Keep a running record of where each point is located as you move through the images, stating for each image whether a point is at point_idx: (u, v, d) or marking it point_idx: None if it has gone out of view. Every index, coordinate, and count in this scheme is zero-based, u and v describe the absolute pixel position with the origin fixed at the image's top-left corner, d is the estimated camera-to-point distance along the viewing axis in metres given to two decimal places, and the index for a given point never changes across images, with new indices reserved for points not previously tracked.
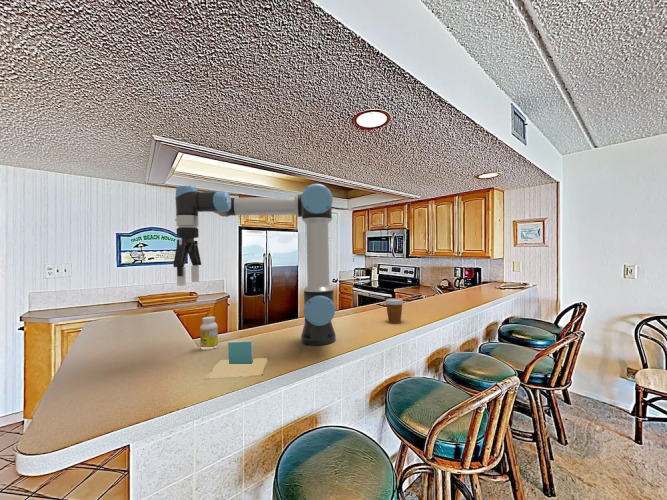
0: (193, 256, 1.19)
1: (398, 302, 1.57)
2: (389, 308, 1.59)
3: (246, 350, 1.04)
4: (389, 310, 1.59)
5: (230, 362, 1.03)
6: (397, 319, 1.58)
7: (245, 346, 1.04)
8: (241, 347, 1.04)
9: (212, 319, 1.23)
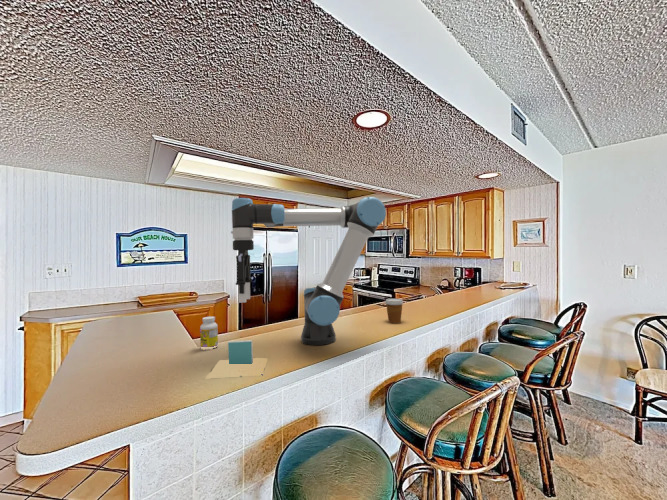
0: (245, 270, 1.16)
1: (398, 302, 1.57)
2: (389, 308, 1.59)
3: (246, 350, 1.04)
4: (389, 310, 1.59)
5: (230, 362, 1.03)
6: (397, 319, 1.58)
7: (245, 346, 1.04)
8: (241, 347, 1.04)
9: (212, 319, 1.23)
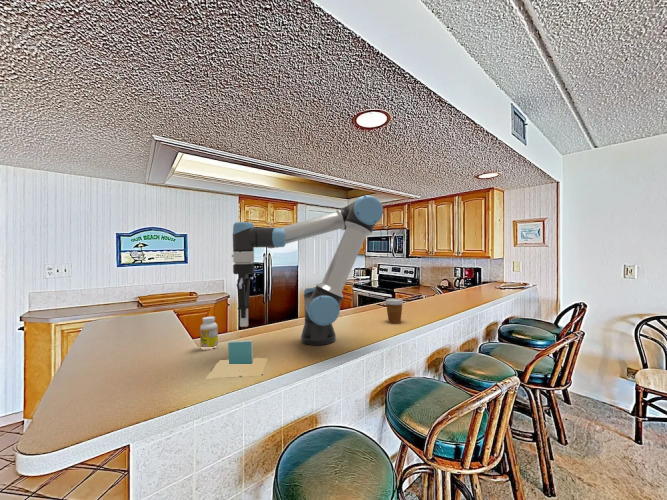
0: None
1: (398, 302, 1.57)
2: (389, 308, 1.59)
3: (246, 350, 1.04)
4: (389, 310, 1.59)
5: (230, 362, 1.03)
6: (397, 319, 1.58)
7: (245, 346, 1.04)
8: (241, 347, 1.04)
9: (212, 319, 1.23)
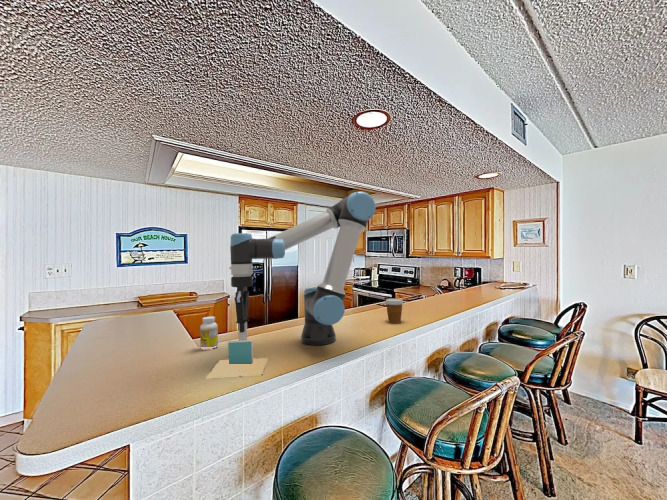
0: None
1: (398, 302, 1.57)
2: (389, 308, 1.59)
3: (246, 350, 1.04)
4: (389, 310, 1.59)
5: (230, 362, 1.03)
6: (397, 319, 1.58)
7: (245, 346, 1.04)
8: (241, 347, 1.04)
9: (212, 319, 1.23)
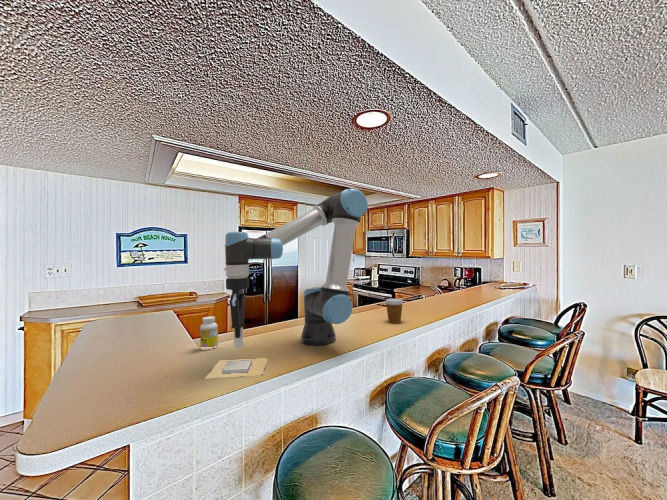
0: None
1: (398, 302, 1.57)
2: (389, 308, 1.59)
3: None
4: (389, 310, 1.59)
5: None
6: (397, 319, 1.58)
7: None
8: None
9: (212, 319, 1.23)
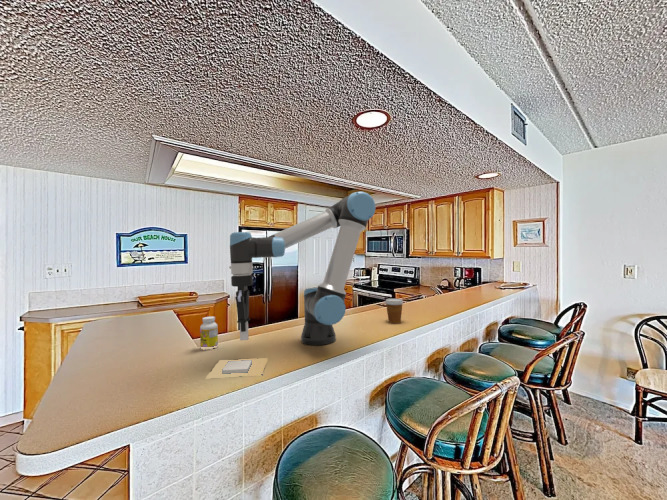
0: None
1: (398, 302, 1.57)
2: (389, 308, 1.59)
3: None
4: (389, 310, 1.59)
5: None
6: (397, 319, 1.58)
7: None
8: None
9: (212, 319, 1.23)
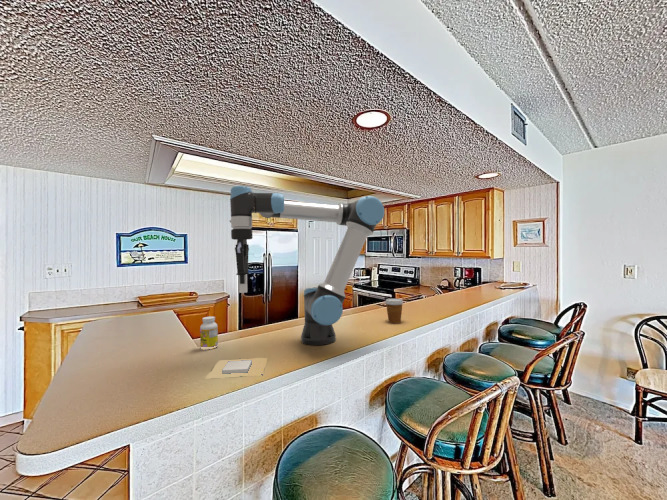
0: None
1: (398, 302, 1.57)
2: (389, 308, 1.59)
3: None
4: (389, 310, 1.59)
5: None
6: (397, 319, 1.58)
7: None
8: None
9: (212, 319, 1.23)
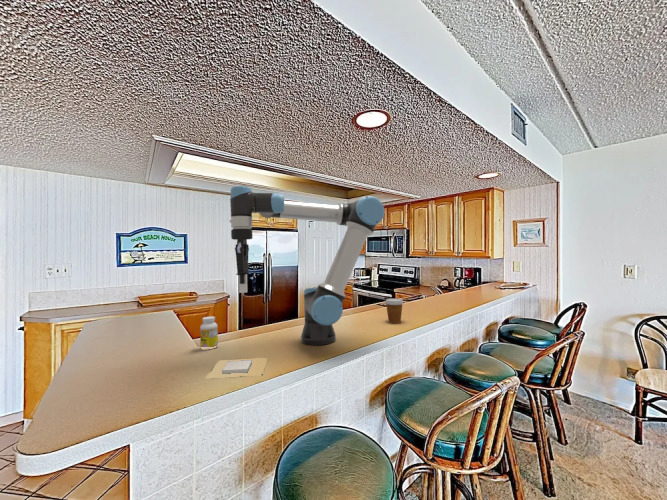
0: None
1: (398, 302, 1.57)
2: (389, 308, 1.59)
3: None
4: (389, 310, 1.59)
5: None
6: (397, 319, 1.58)
7: None
8: None
9: (212, 319, 1.23)
